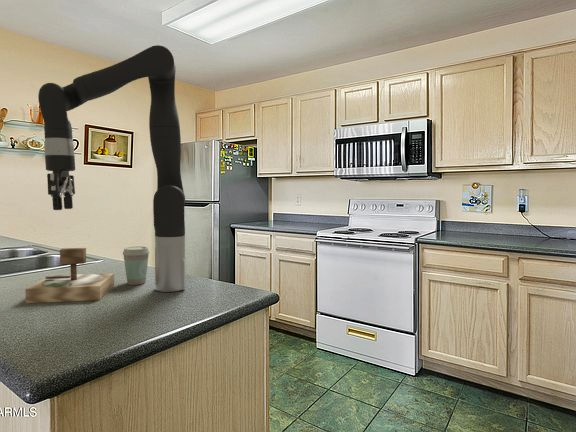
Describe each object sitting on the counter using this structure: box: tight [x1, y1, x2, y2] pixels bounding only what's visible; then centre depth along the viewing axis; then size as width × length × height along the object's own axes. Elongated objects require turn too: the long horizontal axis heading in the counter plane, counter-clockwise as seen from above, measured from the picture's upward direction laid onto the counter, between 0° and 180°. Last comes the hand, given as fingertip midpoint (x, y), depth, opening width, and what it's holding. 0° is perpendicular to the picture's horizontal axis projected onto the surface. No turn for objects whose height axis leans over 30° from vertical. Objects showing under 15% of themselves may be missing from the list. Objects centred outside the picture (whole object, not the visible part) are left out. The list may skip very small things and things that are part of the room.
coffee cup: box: [122, 246, 150, 286], centre depth 127 cm, size 8×8×12 cm
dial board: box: [25, 273, 115, 304], centre depth 114 cm, size 19×17×4 cm
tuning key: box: [44, 247, 87, 280], centre depth 113 cm, size 11×2×9 cm, turn 102°
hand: (63, 209), depth 112 cm, fingers open, 8 cm apart
